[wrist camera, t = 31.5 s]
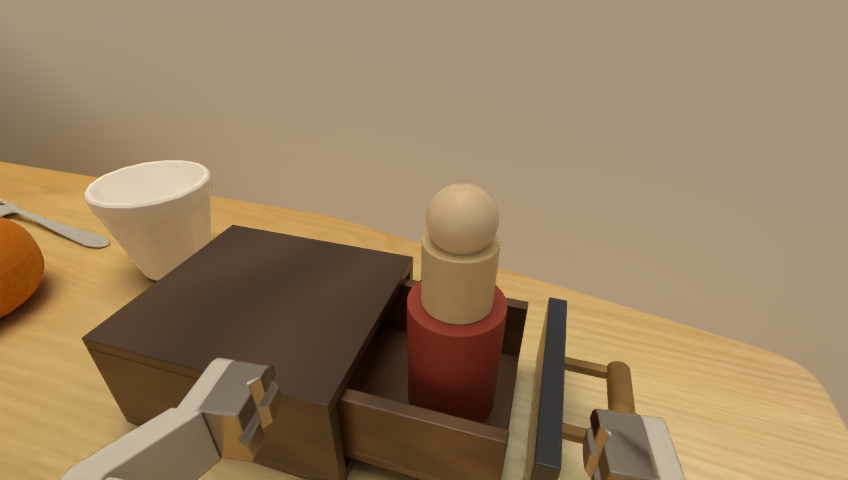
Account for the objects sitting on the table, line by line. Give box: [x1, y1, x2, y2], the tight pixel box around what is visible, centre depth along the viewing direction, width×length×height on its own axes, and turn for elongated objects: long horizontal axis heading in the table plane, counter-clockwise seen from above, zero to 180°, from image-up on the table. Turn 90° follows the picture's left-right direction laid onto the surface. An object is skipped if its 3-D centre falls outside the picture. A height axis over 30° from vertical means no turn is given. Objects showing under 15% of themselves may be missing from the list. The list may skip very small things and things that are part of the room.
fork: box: [0, 199, 110, 248], centre depth 51 cm, size 3×24×2 cm, turn 67°
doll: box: [407, 183, 507, 423], centre depth 25 cm, size 6×6×15 cm
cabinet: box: [82, 225, 413, 480], centre depth 31 cm, size 16×14×8 cm
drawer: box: [336, 279, 636, 480], centre depth 28 cm, size 19×12×6 cm, turn 73°
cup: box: [83, 160, 212, 282], centre depth 42 cm, size 10×10×9 cm
